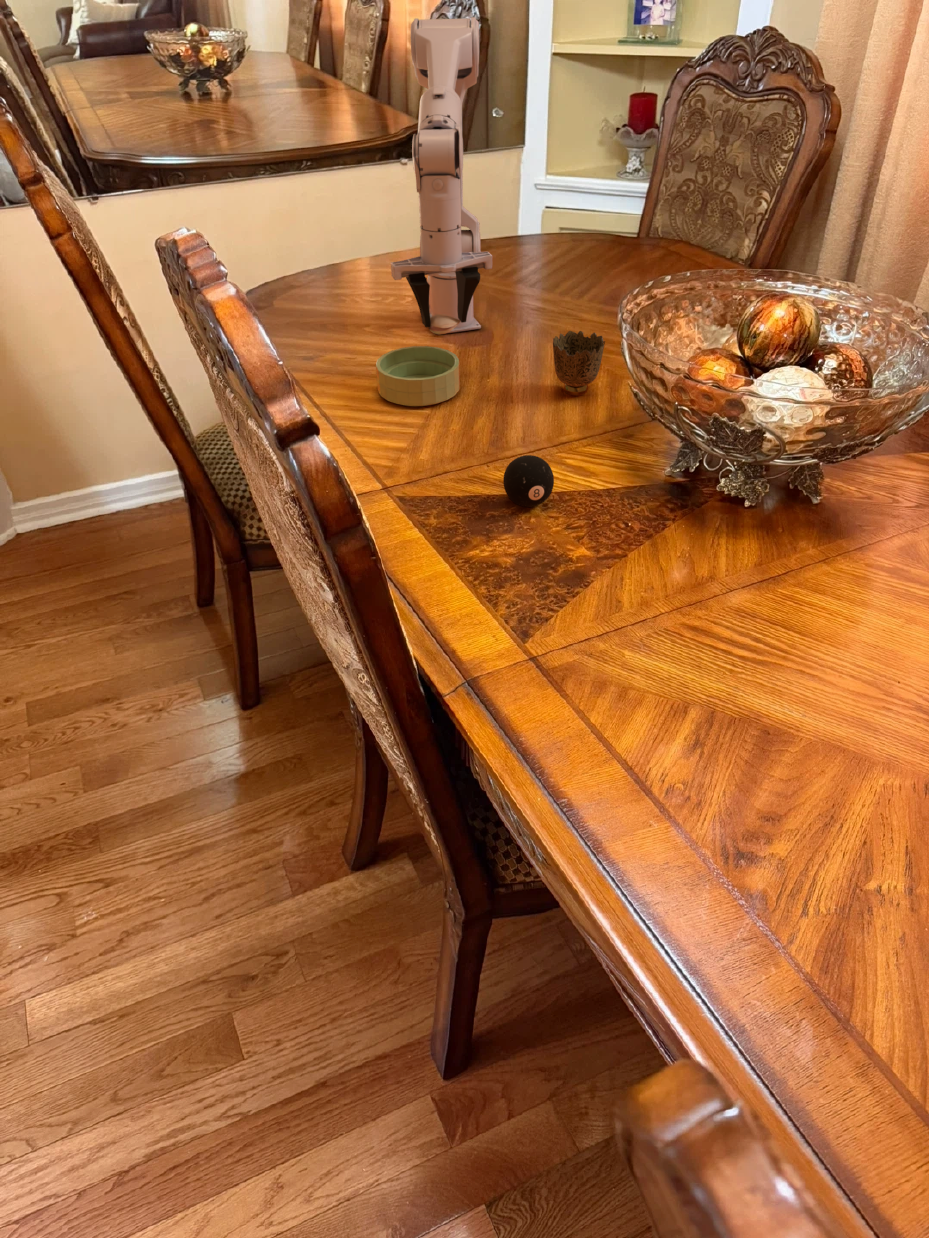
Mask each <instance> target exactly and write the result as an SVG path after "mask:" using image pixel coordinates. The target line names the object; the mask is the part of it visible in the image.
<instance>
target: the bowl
mask: <svg viewBox="0 0 929 1238" xmlns="http://www.w3.org/2000/svg"><path fill="white" fill-rule="evenodd" d="M375 371H376V372H375V373H376V374H375V375H376V384H377V392H378V394H379V396H380V397H381V398H383V399H385V400H386V401H388V402H391V403H393V404H397V405H401V406H406V407H427V406H432V405H436V404H439V403H443V402H445V401H448V400H450V399H451V398H453V397H455V396H456V395H457V394H458V392H459V391H460V387H461V385H460V384H461V382H460V380H461V379H460V378H461V376H460V359H459V358H458V355H456V353H454V352H452V351H450V350H448V349H445V348H442V347H438V346H429V345H412V346H405V347H399V348H396V349H393V350H390V351H388V352H386V353H383V354H382V355H380V357H379V358H377V359H376V364H375Z"/></svg>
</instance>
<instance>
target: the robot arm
mask: <svg viewBox="0 0 929 1238" xmlns="http://www.w3.org/2000/svg"><path fill="white" fill-rule="evenodd" d="M479 23H480V22H479V21H478V20H477V18H476V16H472V17H471V18H430V19H429V18H428V19H426V18H425V19H419V18H418V17H417V18H416V17H415V18H413V21H412V22H411V23H410V56H411V63H412V66H413V69H414V75H415V78H416V79H417V84H418V85H419V86H421V87H423V88H425V89H426V90H425V91H424V92H423V94H421V97H420V99H419V100H420V101H419V110H418V125H417V134H416V133H414V134H413V136H412V141H411V143H412V144H411V145H412V146H411V147H412V149H411V150H412V151H411V152H412V166H413V172H414V177H415V186H416V188H415V189H416V193H418V209H419V231H420V233H419V234H420V235H419V256H414V257H411V258H406V259H403V260H397V261H391V262H390V273H391V277H392V279H393V280H394V281H400V280H402V279H403V278H405V279H406V281H407V283H408V285H409V287H410V289H411V291H412V293H413V295H414V298H415V300H416V302H417V305H418V310H419V313H420V317H421V323H422V325H423V326H424V328H428V327H430V317H432V316H433V315H437V314H443V315H447V316H450V317H453V318H456V319H458V320H460V323H459V324H458V325H457V326H456V327H455V328H454V329H453V330H451V331H450V332H448V333H447V334H451V333H459V332H466V331H473V330H480V329H481V328H482V325H481V324H480V323H479V321H478V320H477V319H476V318H475V317H474V293H475V291H476V289H477V287H478V286H479V284H480V282H481V273H480V272H479V270H481V269H484V270H492V269H493V255H492V254H491V253H490V252H489V251H481V250H482V249H481V247H482V246H481V245H482V244H481V243H482V242H481V232H480V230H481V229H480V227H481V226H480V221H479V219H478V218H477V217H476V216H475V215H474V214H473V213H472V212H470V211H469V210H468V209H467V208H465V206H464V191H463V190H464V183H463V182H464V181H463V177H464V176H463V175H464V173H463V170H464V139H463V103H464V99H465V95H466V91H467V89H469V88H471V87H473V86H474V85H476V84H477V83H478V78H479V64H480V24H479ZM462 227H463V228H468V229H462ZM426 276H427V277H426Z"/></svg>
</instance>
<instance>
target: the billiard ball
mask: <svg viewBox="0 0 929 1238" xmlns="http://www.w3.org/2000/svg"><path fill="white" fill-rule="evenodd" d="M554 477H555V476H554V473H553V470H552V468H551V466H550V464H549V463H548V462H547V461H546V460H545V459H544V458H541V457H540V456H537V455H531V454H525V455H521V456H518V457H517V458H514V459H513V460H512V461H511V462H509V464H508V465H507V467H506V468H505V470H504V473H503V478H502V479H503V481H502V483H503V488H504V492H505V494H506V496H507V497H508V499H509V500H510V501H511V502H513V503H514V504H515V505H518V506H521V507H526V508H529V507H536V506H539V505H541V504H543V503H544V502H545V501H547V500H548V499H549V498H550V497H551V494H552V492H553V490H554V484H555V478H554Z"/></svg>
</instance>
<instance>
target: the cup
mask: <svg viewBox="0 0 929 1238" xmlns="http://www.w3.org/2000/svg"><path fill="white" fill-rule="evenodd" d="M552 339H553V340H552V350H553V363H554V365H553V366H554V372H555V374H556V375H555V376H556V377H557V379H558V380H559V381H560V383H562V384H563V387H562V388H563V390H564V392H565V393H566V394H567V395H569V396H573V397H578V396H583V395H585V394H586V393H587V392H588V390H589V385H590V384H591V383H593V382H594V381H595V380H596V378H597V376H598V375H599V372H600V368H601V365H602V364H601V363H602V360H603V359H602V358H603V354H604V348H605V345H606V341H605V340H604V338H603V335H598V336H597V333H596V332H593V333H591V334H590V336H587V335H584V331H582V330H579V331H578V332H577V333H576V332H575V331H573V330H569V331H567V333H566V334H565V335H564V334H563V333H560V334H559V336H557V335H556V336H554V337H553V338H552Z"/></svg>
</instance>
